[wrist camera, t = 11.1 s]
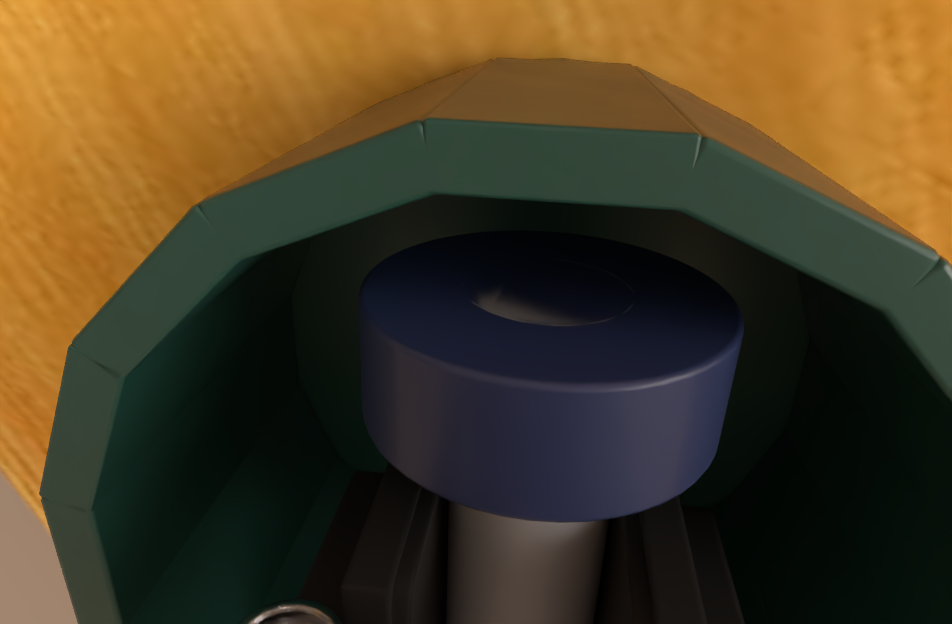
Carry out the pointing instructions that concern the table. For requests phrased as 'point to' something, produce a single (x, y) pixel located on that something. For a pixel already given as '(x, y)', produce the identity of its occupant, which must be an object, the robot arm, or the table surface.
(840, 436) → the pot
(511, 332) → the toy dumbbell
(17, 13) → the table surface
